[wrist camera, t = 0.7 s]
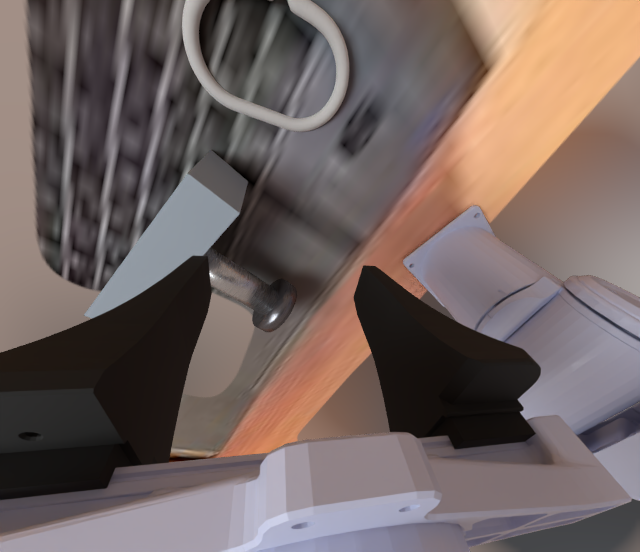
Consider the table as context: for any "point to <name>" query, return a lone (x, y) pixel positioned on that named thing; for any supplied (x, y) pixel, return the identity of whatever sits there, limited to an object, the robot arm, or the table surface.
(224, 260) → the pin
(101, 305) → the hitch block
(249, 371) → the table surface
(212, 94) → the hook
